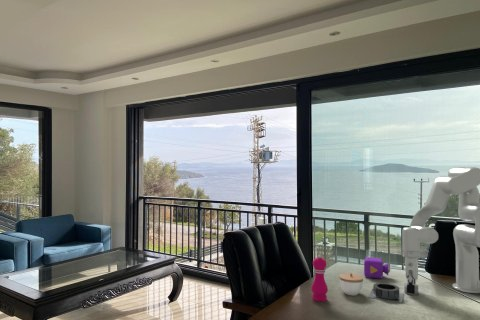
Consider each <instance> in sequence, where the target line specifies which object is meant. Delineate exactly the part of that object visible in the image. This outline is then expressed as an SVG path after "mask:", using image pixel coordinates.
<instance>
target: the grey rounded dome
mask: <svg viewBox="0 0 480 320" xmlns="http://www.w3.org/2000/svg"><path fill="white" fill-rule="evenodd" d="M414 285H415V293H414V294H412V293H407V282H404V285H403V286H404V289H403V290H404V293H403V294H404V295H409V296H419V284H416V283H415V284H414Z"/></svg>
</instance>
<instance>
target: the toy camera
mask: <svg viewBox="0 0 480 320" xmlns="http://www.w3.org/2000/svg"><path fill="white" fill-rule="evenodd" d="M390 272H391V266H390V265H389V263H388V262H387V263H385V264H384V262H383V259H382V258H379V257H371V256H370V255H369V256H366V257H365V259H364V262H363V275H364V277H365V278H371V279H379V280H380V279H382V278H383V276H384V274H386V275H387V276H389V274H390Z"/></svg>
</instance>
